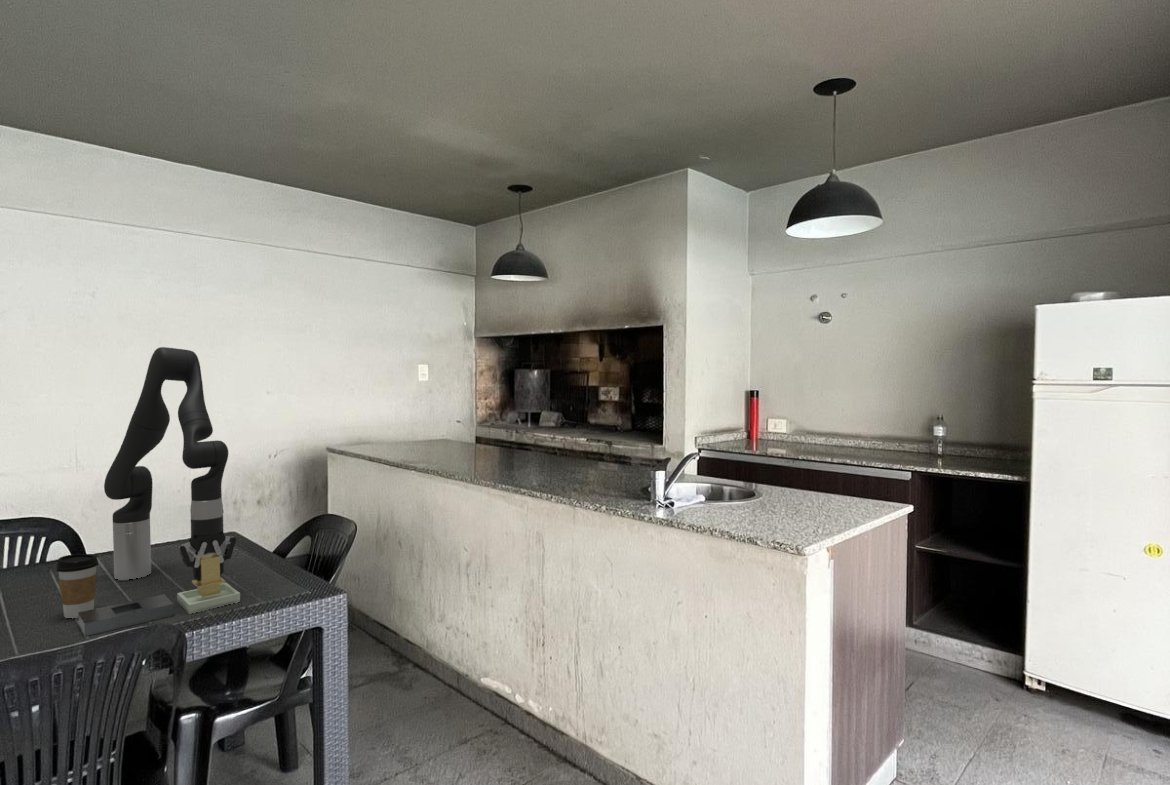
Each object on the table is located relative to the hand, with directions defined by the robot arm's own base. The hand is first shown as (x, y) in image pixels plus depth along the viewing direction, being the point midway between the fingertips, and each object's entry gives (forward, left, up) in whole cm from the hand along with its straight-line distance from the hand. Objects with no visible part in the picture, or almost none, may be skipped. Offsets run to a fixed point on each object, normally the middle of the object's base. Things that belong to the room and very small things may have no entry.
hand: (208, 577), depth 171 cm
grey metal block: (-1, -18, -7) cm, 19 cm away
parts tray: (0, 0, -7) cm, 7 cm away
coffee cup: (-14, -26, -7) cm, 30 cm away
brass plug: (0, 0, -4) cm, 4 cm away
